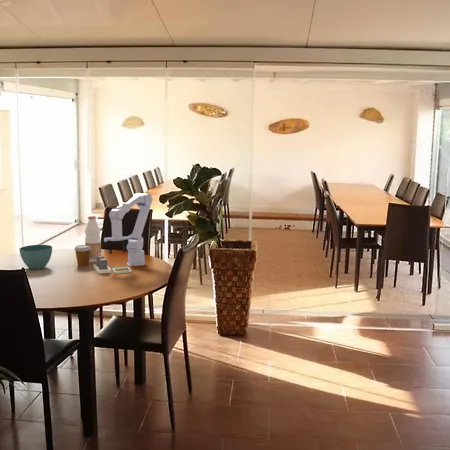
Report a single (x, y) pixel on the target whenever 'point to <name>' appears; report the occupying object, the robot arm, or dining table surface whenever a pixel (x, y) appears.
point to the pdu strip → (101, 269)
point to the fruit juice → (93, 238)
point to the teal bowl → (36, 255)
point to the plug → (103, 264)
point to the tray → (121, 269)
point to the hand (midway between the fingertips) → (117, 253)
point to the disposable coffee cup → (83, 255)
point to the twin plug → (98, 259)
